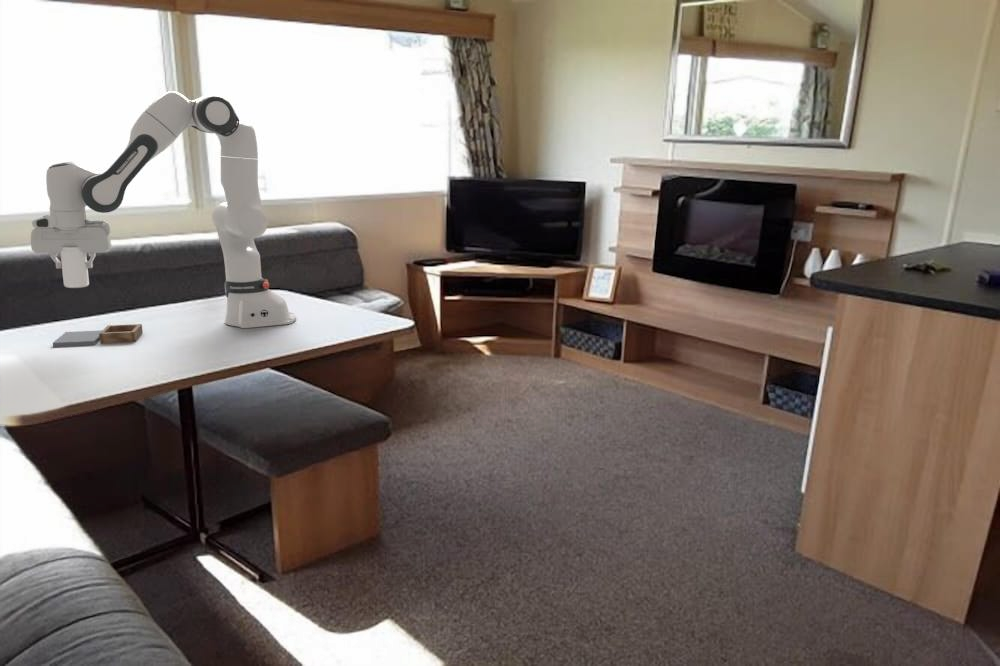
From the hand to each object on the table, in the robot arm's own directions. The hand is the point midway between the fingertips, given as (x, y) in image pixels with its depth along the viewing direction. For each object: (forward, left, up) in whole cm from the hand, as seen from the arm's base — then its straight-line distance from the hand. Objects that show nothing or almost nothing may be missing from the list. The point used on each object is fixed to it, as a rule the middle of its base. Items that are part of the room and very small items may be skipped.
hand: (74, 267), depth 214 cm
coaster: (+1, 0, -22) cm, 22 cm away
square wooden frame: (-10, 0, -22) cm, 24 cm away
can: (0, 0, -6) cm, 6 cm away
